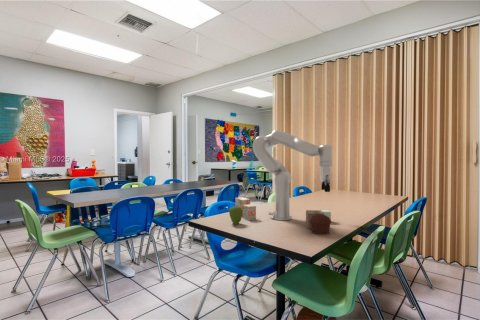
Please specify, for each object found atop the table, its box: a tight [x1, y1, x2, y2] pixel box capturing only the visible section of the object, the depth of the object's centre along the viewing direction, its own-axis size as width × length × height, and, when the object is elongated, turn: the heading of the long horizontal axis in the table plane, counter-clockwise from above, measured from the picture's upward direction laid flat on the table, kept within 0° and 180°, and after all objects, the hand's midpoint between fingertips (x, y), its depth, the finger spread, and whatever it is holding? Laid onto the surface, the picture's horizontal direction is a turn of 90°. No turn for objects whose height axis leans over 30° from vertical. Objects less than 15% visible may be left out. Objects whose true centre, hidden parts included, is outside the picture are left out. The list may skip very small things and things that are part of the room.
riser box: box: [305, 209, 324, 230], centre depth 162 cm, size 9×9×9 cm
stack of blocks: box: [234, 196, 257, 221], centre depth 190 cm, size 21×6×12 cm, turn 24°
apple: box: [228, 206, 243, 225], centre depth 171 cm, size 9×8×12 cm
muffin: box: [310, 214, 333, 236], centre depth 150 cm, size 12×11×10 cm
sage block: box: [320, 209, 332, 221], centre depth 174 cm, size 6×6×7 cm
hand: (325, 190), depth 174 cm, fingers open, 9 cm apart
